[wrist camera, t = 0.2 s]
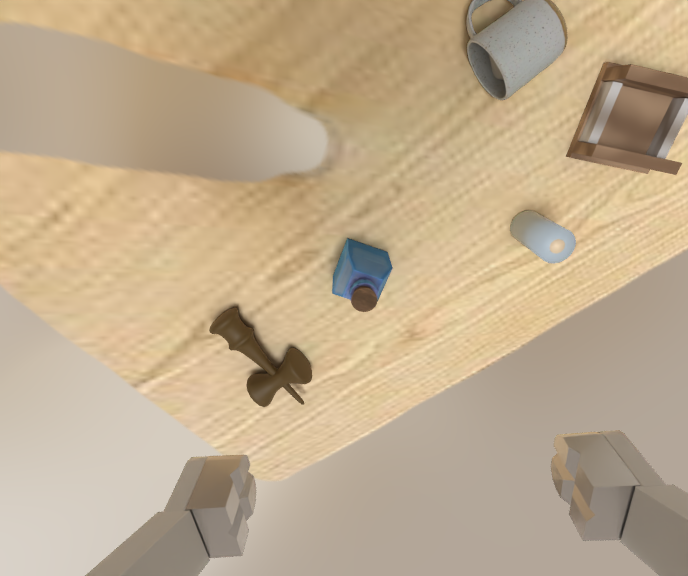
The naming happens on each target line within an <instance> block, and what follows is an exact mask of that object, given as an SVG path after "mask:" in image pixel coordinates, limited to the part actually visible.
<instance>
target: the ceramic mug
mask: <svg viewBox="0 0 688 576" xmlns="http://www.w3.org/2000/svg"><path fill="white" fill-rule="evenodd" d="M487 1H490V0H473V1H472V2H471V4H470V6H469V9H468V14H467V21H466V25H467V31H468V34H469V37H470V40H469V42H468V44H467V54H468V58H469V62H470V64H471V66H472V68H473V71H474V73H475V75H476V77H477V78H478V80H479V82H480V83H481V85H482V86H483V87H484V88H485V90H486V91H487V92H488V93H489V94H490V95H491V96H493V97H494V98H496V99H498V100H505V99H507V98H509V97H510V96H511V95H512V94H514V93H515V92H516V91H517V90H519V89H520V88H521V87H523V86H524V85H525V84H526V83H528V82H529V81H530V80H531V79H533V78H534V77H535V76H536V75H537V74H539V73H540V72H541V71H543V70H544V69H545V68H547V67H548V66H549V65H550V64H552V63H553V62H554V61H555V60H556V59H557V58H558V57H559V56H560V55H561V53H562V52H563V51H564V49H565V47H566V44H567V38H568V37H567V27H566V23H565V20H564V18H563V16H562V14H561V12H560V10H559V9H558V8H557V6H556V5H555V4H554V3H553V2H552V1H551V0H524V1H522V0H507V1H509V2H510V3H511V4H512V5H514V7H513V8H512V9H511V10H509V11H508V12H507V13H506V14H504V15H503V16H502V17H500V18H499V19H497V20H496V21H494V22H493V23H492V24H490V25H489V26H488V27H486V28H485V29H484V30H482V31H481V32H479V33H478V34H477V33H476V32H475V31H474V29H473V25H472V20H471V16H472V13H473V11H474V10H475V9H476V8H478V7H479V6H481V5H482V4H484V3H485V2H487Z"/></svg>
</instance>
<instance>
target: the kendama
mask: <svg viewBox="0 0 688 576" xmlns="http://www.w3.org/2000/svg"><path fill="white" fill-rule="evenodd" d="M209 331H210V333H212V334H219V335H221V336H222V337H223V338H225V339H226V340H227V342H228V343H229V349H230V350H237V351H240V352H241V353H243V354H245V355H246V356H247V357H249V358H250V359H252V360H253V361H254V362H255V363H257V364H258V365H259V366H260V367H262V368H263V369H264V370H265V371H266V372H268V373H265V374H253V375H251V376H250V377H249V378H248V380H247V391H248V393H249V395H250V397H251V398H252V399H253V400H254V402H256V403H257V404H258V405H259V406H262V407H266V406H268V405H269V404H270V403H271V401H272V399H273V397H274V395H275V393H276V392H277V391H278V390H279V389H280V388H281V387H284V388H285V389H286V390H287V391H288V392H289V393H290V394H291V395H292V396H293V397H294V398H295V399H296V400H297V401H298V402H299V403H301V404H304V401H303V400H302V398H301V397H300V396H299V395H298V394H297V392H296V391H295V390H294V389H293V388H292V387H291V386H290V385H289V383H299V384H307V383H309V382H310V381H311V379H312V370H311V366H310V364H309V362H308V360H307V359H306V357H305V356H304V355H303V354H302V353H301V352H300V351H299V350H297V349H295V348H291V349H289V350H288V352H287V354H286V356H285V358H284V361H283V363H282V365H281V366H280V367H279V368H278V369H276V368H275V367H274V366H273V364H272V363H271V362H270V361H269V359H268V358H267V357H266V355H265V354H264V352H263V351H262V350H261V348H260V347H259V345H258V344H257V342H256V340H255V338H254V335H253V331H254V329H253V328H251V327H247V326H245V325H244V324H243V322H242V321H241V319H240V318H239V315H238V309H237V308H231V309H229V310H227V311H225V312H224V313H223V314H221V315H220V316H219V317H218V318H217V319H216V320H215V321H214V322H213V323H212V325H211V327H210V330H209Z"/></svg>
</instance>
